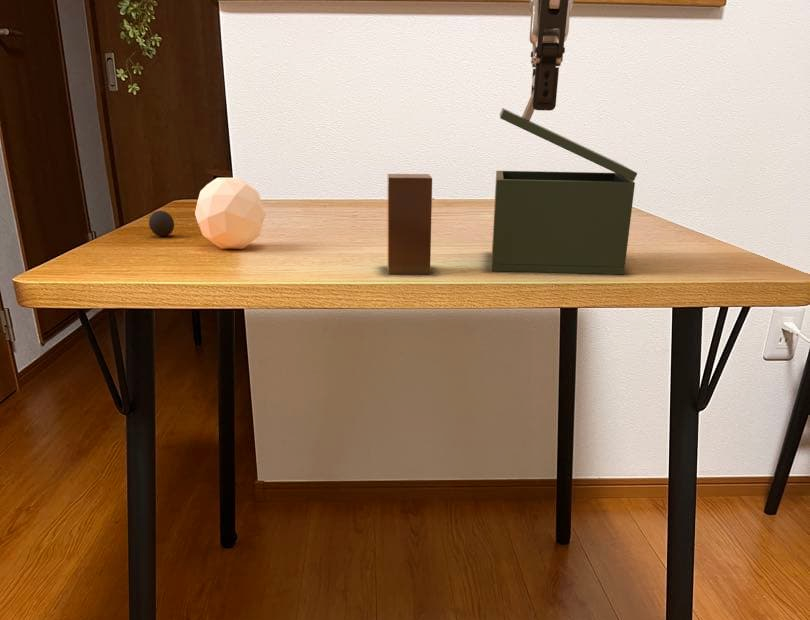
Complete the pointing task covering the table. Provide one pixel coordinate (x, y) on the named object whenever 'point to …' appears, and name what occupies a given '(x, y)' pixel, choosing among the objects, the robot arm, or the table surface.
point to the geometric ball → (230, 213)
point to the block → (409, 223)
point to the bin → (561, 222)
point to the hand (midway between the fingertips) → (542, 109)
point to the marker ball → (161, 223)
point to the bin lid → (563, 140)
